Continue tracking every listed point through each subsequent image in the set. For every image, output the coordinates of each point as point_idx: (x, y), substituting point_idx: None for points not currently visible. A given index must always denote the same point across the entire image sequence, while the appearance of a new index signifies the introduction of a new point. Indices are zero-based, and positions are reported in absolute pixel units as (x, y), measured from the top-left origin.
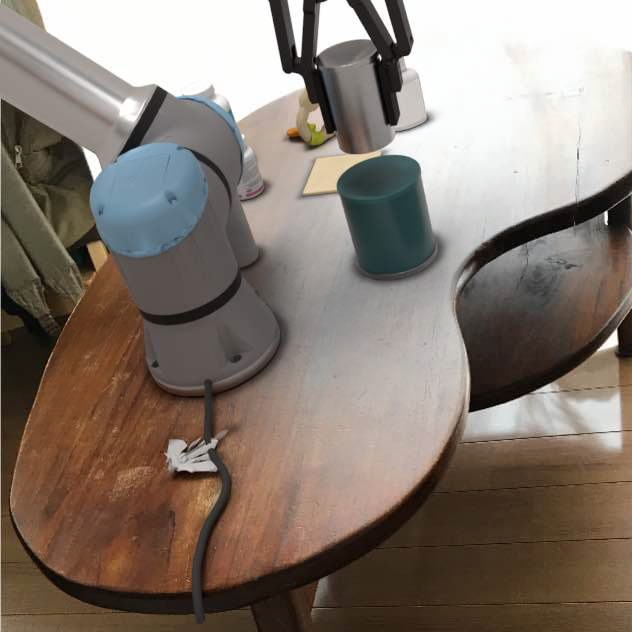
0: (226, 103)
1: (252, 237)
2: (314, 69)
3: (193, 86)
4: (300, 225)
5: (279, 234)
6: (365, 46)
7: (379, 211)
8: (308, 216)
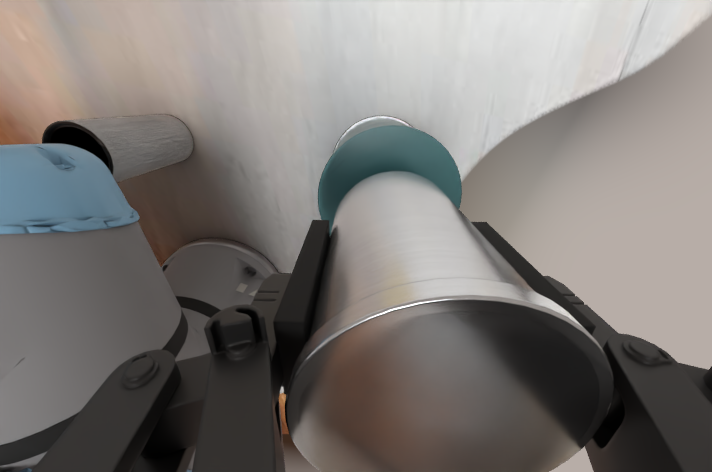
0: None
1: (175, 139)
2: (277, 368)
3: None
4: (221, 61)
5: (198, 82)
6: (542, 397)
7: None
8: (224, 33)
